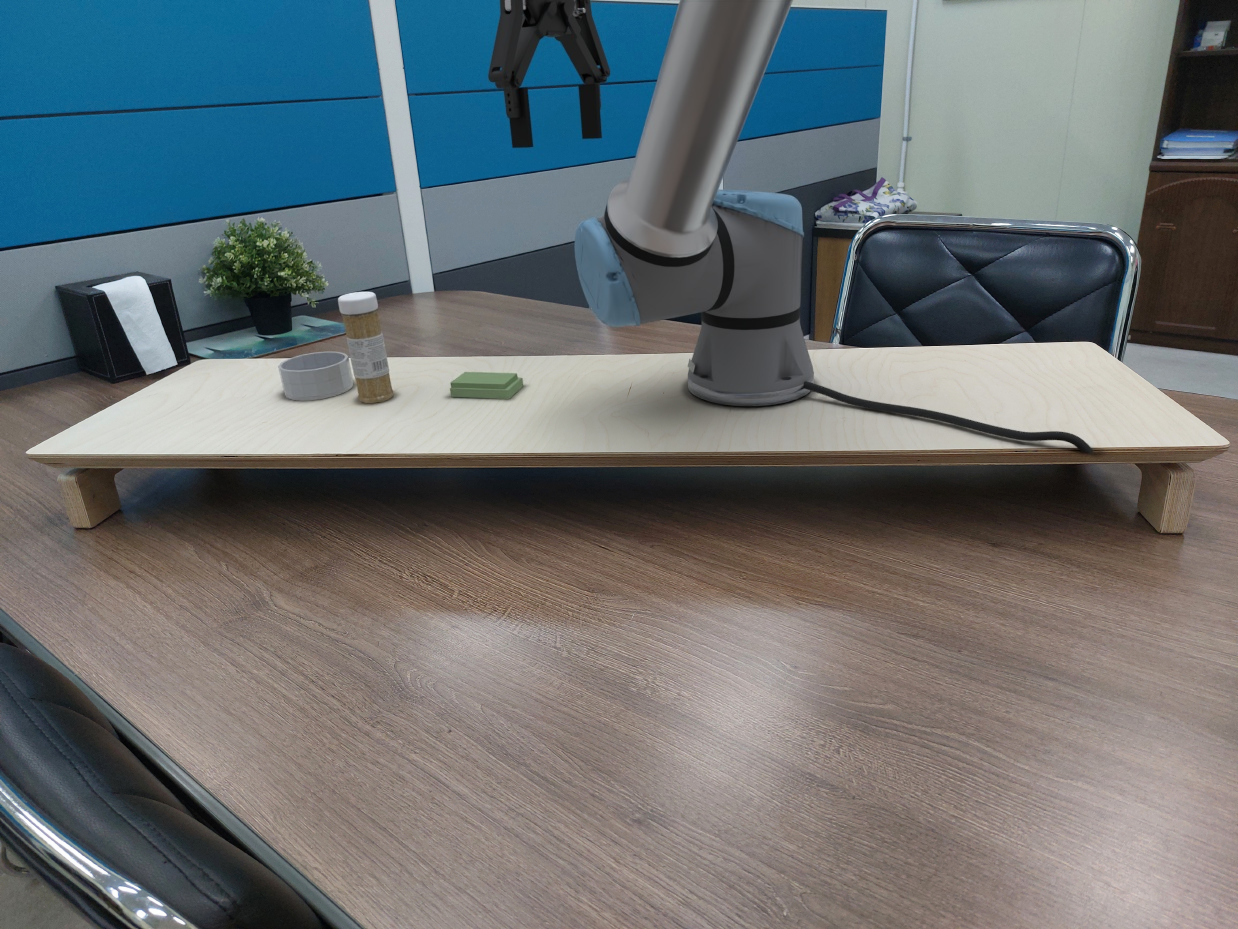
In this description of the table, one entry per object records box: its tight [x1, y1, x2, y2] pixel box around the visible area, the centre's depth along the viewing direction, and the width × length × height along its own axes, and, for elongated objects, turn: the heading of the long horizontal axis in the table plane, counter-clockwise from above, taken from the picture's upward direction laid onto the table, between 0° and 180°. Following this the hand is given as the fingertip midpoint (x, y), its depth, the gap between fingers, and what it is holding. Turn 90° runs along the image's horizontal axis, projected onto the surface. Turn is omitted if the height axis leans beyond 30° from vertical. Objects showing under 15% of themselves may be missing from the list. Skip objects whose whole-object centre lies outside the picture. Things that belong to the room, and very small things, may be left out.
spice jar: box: [337, 291, 395, 404], centre depth 105 cm, size 5×5×14 cm
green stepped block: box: [449, 371, 524, 400], centre depth 107 cm, size 8×5×2 cm, turn 75°
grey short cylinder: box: [277, 351, 354, 402], centre depth 111 cm, size 9×9×4 cm
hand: (559, 143), depth 105 cm, fingers open, 13 cm apart
